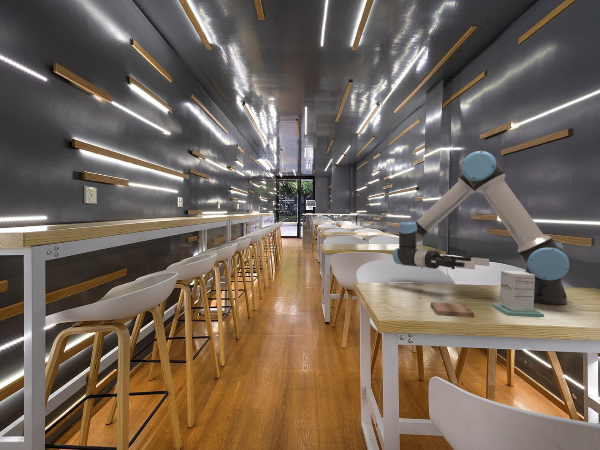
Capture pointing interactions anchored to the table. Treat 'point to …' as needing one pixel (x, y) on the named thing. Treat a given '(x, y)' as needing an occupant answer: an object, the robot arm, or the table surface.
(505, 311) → the plate
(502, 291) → the supplement box
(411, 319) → the table surface
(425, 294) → the table surface
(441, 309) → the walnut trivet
